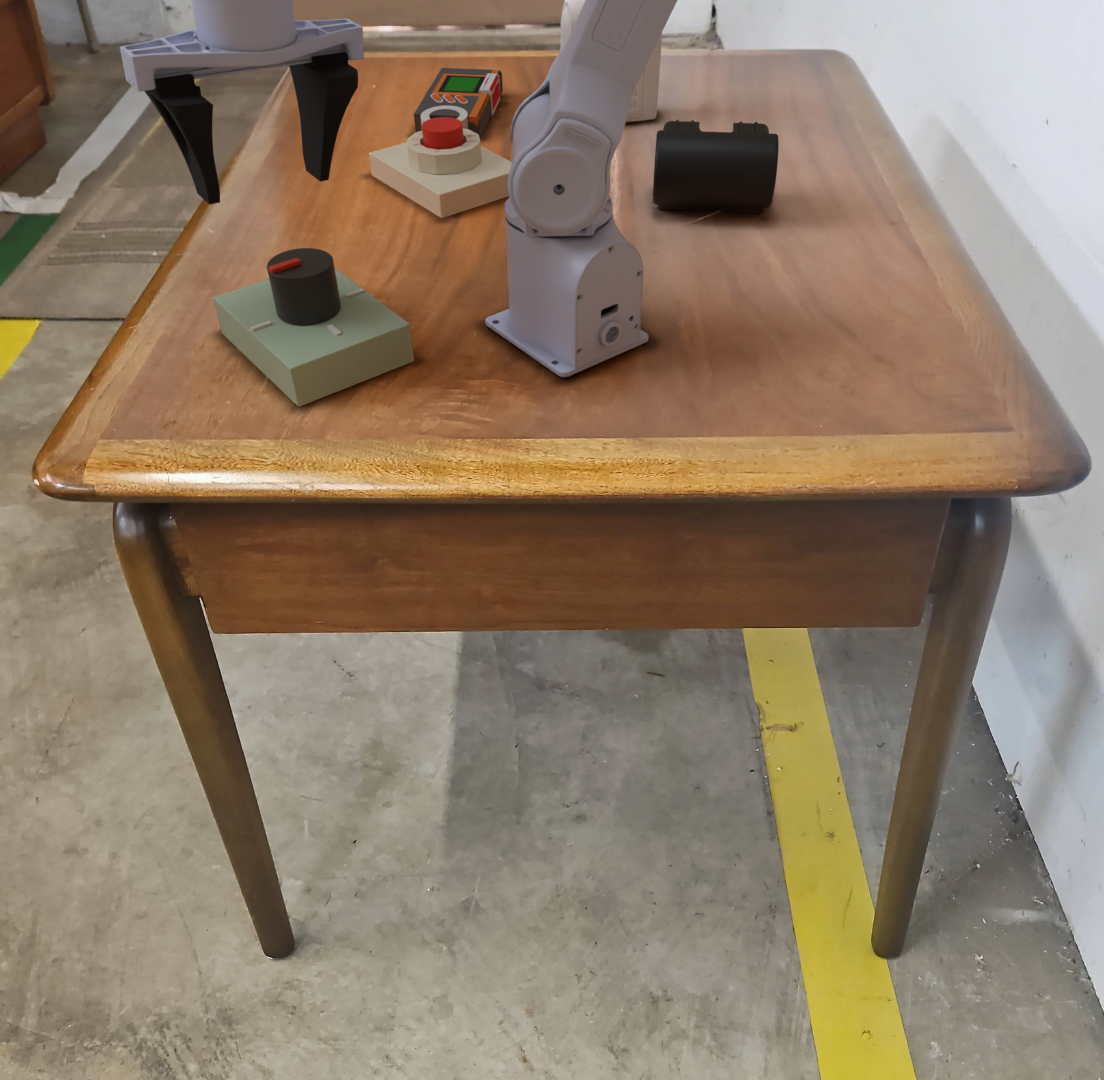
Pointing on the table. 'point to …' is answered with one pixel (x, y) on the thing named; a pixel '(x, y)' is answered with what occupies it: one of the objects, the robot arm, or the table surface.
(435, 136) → the power button
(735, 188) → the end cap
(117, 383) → the table surface
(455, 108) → the electronic device
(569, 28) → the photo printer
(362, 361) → the dial panel
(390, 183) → the button box
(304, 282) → the dial
